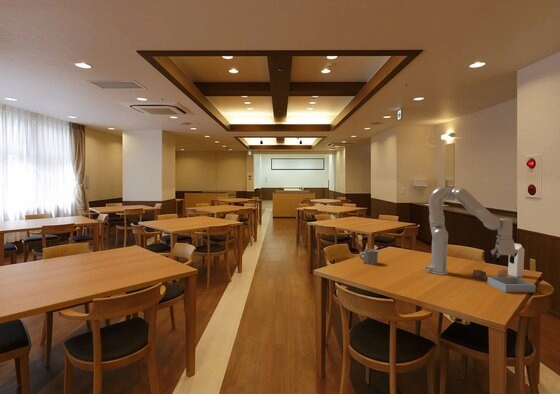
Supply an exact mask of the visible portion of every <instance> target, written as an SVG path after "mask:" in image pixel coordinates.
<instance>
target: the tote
mask: <svg viewBox="0 0 560 394" xmlns="http://www.w3.org/2000/svg"><path fill="white" fill-rule="evenodd" d="M486 280H487V283H486V284H487V285H489V286H490V287H493V288H494V289H497V290H499V291H502V292H503V293H515V294H516V293H517V294H518V293H519V292H528V294H529V293H530V294H532V293H533V294H535V293H536V289H537V288H536V287H537V285H536V284H534V283H531V282H529V281H526V280H523V279H522V278H519V277H515V276H507V277H498V276H487V279H486Z"/></svg>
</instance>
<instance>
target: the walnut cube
mask: <svg viewBox="0 0 560 394" xmlns="http://www.w3.org/2000/svg"><path fill="white" fill-rule="evenodd" d="M472 271H473V273H472V278H473V277H474V279H476V280H477V281H486V280H487V279H486V277H487V272H486V271H483V270H482V269H472Z"/></svg>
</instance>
